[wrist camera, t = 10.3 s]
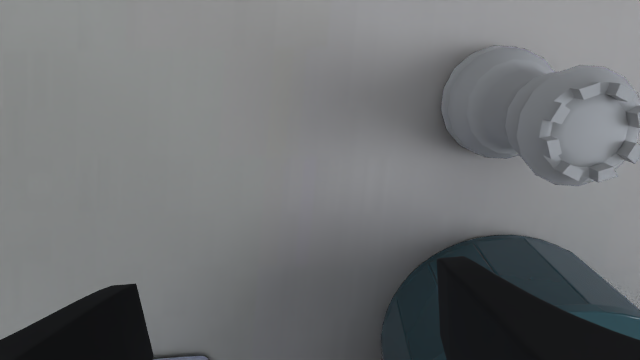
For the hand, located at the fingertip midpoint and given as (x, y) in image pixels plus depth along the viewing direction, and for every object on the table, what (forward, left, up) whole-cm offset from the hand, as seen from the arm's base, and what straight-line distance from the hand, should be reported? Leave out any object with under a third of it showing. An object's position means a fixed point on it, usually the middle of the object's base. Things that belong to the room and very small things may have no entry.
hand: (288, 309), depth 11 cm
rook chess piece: (+8, +3, -10) cm, 13 cm away
